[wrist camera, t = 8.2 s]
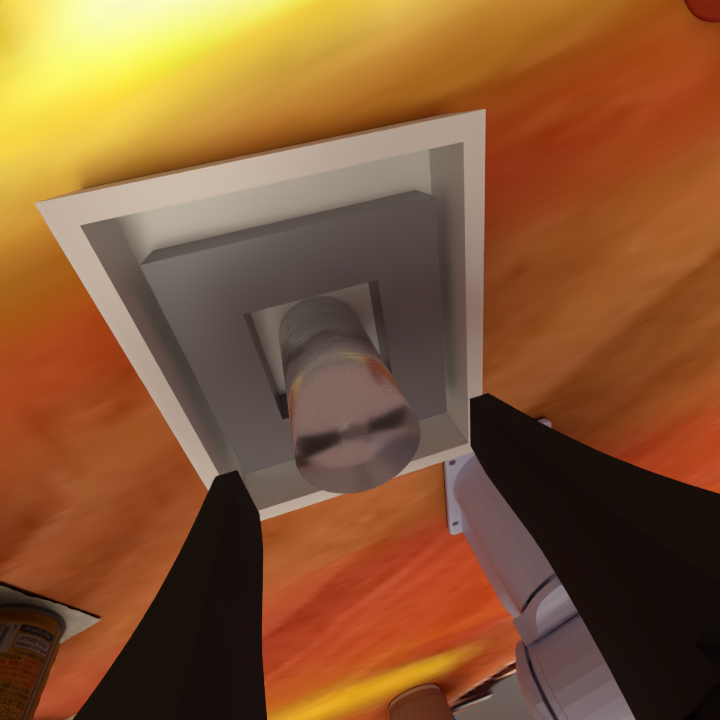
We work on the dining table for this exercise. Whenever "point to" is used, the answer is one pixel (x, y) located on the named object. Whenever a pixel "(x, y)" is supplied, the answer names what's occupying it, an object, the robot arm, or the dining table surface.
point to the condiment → (31, 648)
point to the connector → (342, 400)
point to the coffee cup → (421, 705)
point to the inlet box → (292, 284)
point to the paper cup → (705, 9)
